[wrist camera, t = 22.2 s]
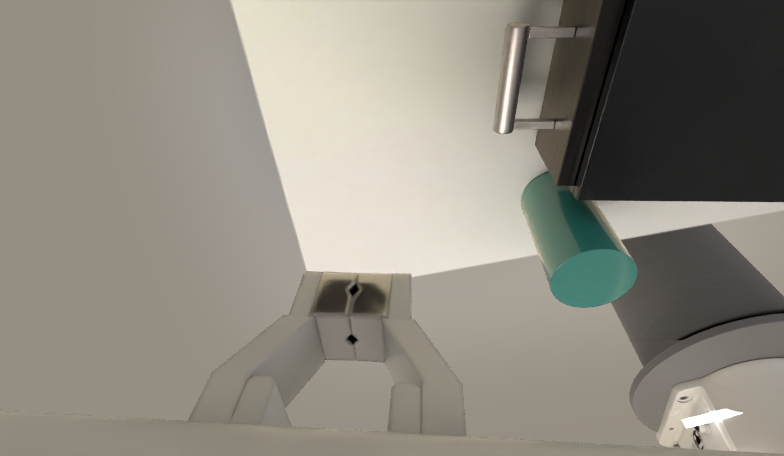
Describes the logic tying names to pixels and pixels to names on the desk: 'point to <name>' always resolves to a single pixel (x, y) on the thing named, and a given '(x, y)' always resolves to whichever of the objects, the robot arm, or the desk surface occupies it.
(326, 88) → the desk surface
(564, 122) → the drawer
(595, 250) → the teal cylinder
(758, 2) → the cabinet
